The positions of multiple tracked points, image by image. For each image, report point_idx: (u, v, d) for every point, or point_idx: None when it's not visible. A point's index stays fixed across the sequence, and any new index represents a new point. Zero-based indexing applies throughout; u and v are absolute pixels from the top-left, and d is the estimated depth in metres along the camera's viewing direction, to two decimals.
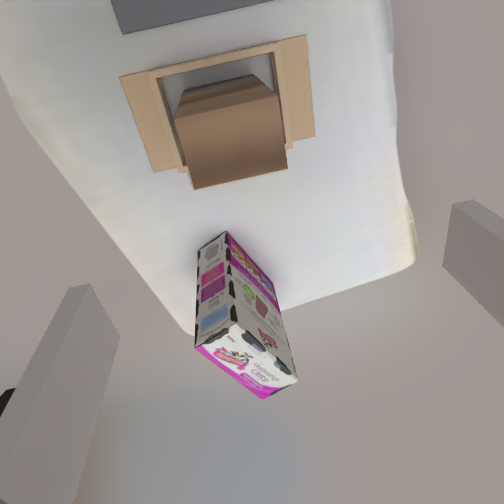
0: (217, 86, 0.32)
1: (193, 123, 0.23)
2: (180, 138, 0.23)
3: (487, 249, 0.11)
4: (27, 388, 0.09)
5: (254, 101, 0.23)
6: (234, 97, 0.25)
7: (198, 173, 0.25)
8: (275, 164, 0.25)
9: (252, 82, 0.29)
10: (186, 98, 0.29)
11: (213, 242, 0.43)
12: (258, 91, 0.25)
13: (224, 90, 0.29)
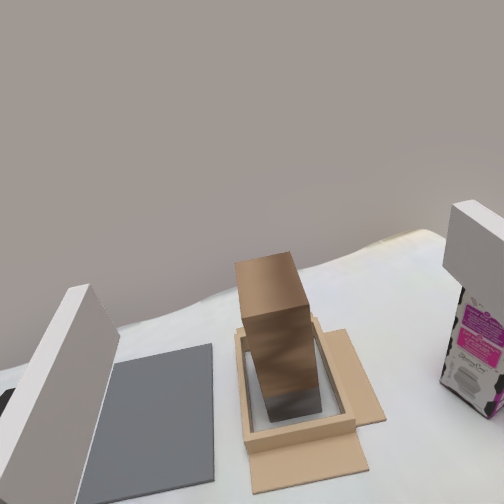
0: None
1: (246, 305, 0.26)
2: (258, 313, 0.25)
3: (487, 249, 0.11)
4: (27, 388, 0.09)
5: (236, 273, 0.29)
6: None
7: (292, 301, 0.25)
8: (286, 258, 0.30)
9: None
10: None
11: (460, 392, 0.31)
12: None
13: None
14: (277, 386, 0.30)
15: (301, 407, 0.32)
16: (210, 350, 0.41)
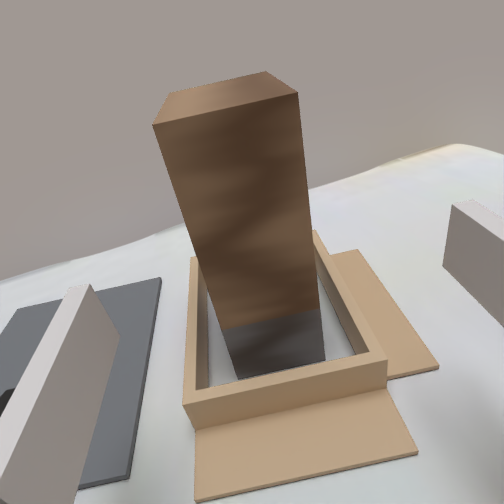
0: None
1: (170, 114, 0.13)
2: (189, 116, 0.12)
3: (487, 249, 0.11)
4: (27, 388, 0.09)
5: (167, 99, 0.16)
6: None
7: (262, 96, 0.12)
8: (258, 75, 0.17)
9: None
10: None
11: None
12: None
13: None
14: (244, 305, 0.16)
15: (290, 350, 0.18)
16: (157, 285, 0.27)
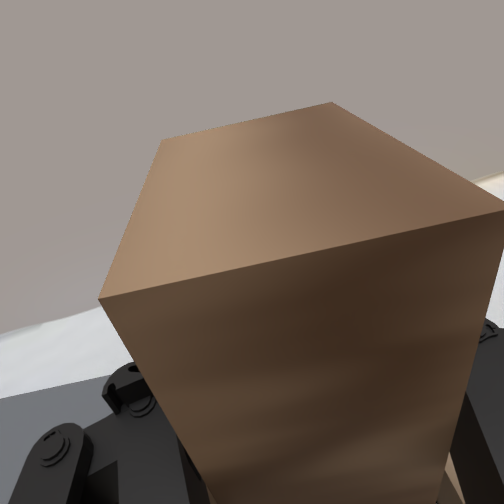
0: None
1: (154, 237, 0.05)
2: (203, 271, 0.04)
3: None
4: None
5: None
6: None
7: (394, 204, 0.05)
8: (323, 111, 0.09)
9: None
10: None
11: None
12: None
13: None
14: None
15: None
16: None
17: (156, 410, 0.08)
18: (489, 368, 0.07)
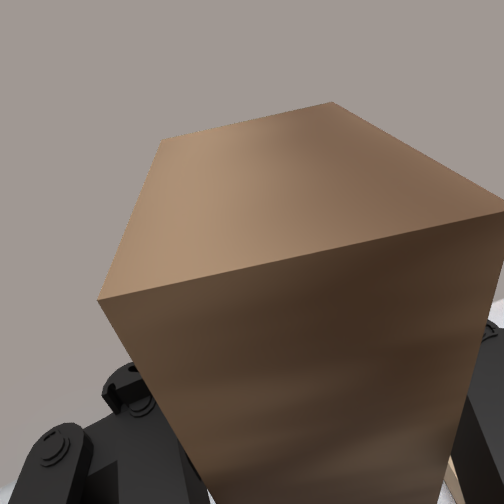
0: None
1: (154, 238, 0.05)
2: (204, 272, 0.04)
3: None
4: None
5: (157, 158, 0.09)
6: None
7: (396, 204, 0.05)
8: (324, 111, 0.09)
9: None
10: None
11: None
12: None
13: None
14: None
15: None
16: None
17: (156, 410, 0.08)
18: (489, 368, 0.07)
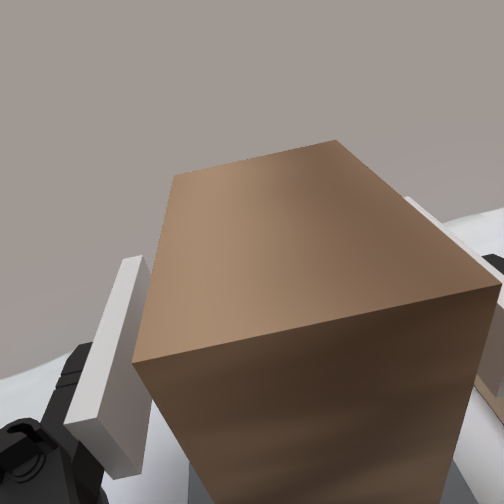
0: None
1: (177, 296, 0.06)
2: (225, 338, 0.05)
3: None
4: (105, 338, 0.10)
5: (171, 197, 0.09)
6: None
7: (396, 272, 0.05)
8: (328, 151, 0.10)
9: None
10: None
11: None
12: None
13: None
14: None
15: None
16: None
17: (45, 469, 0.07)
18: None
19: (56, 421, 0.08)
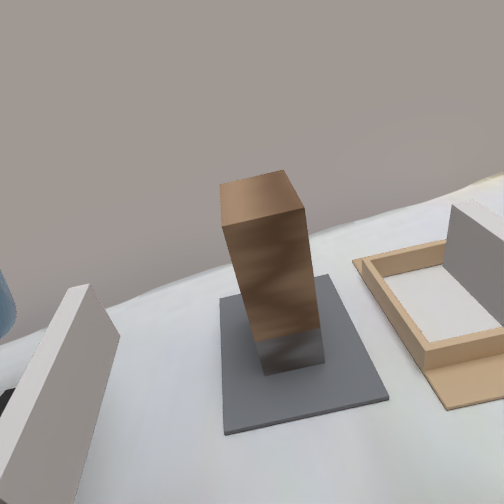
0: None
1: (229, 215, 0.21)
2: (242, 221, 0.20)
3: (487, 249, 0.11)
4: (27, 388, 0.09)
5: (220, 192, 0.25)
6: None
7: (283, 207, 0.21)
8: (279, 174, 0.25)
9: None
10: None
11: None
12: None
13: None
14: (270, 326, 0.25)
15: (301, 355, 0.27)
16: (330, 280, 0.36)
17: None
18: None
19: None
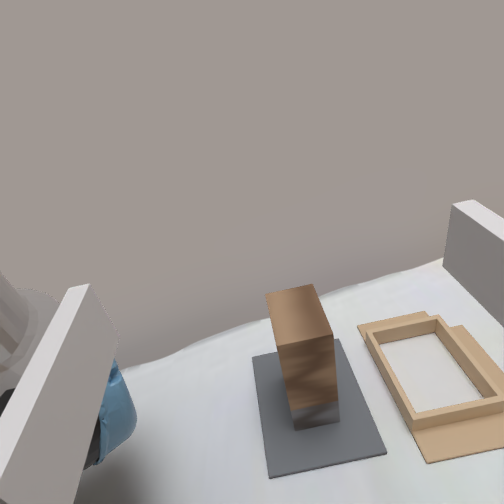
0: None
1: (280, 334, 0.31)
2: (290, 342, 0.30)
3: (487, 249, 0.11)
4: (27, 388, 0.09)
5: None
6: None
7: (318, 331, 0.30)
8: (309, 290, 0.35)
9: None
10: None
11: None
12: None
13: None
14: (303, 400, 0.35)
15: (322, 418, 0.37)
16: (340, 344, 0.46)
17: None
18: None
19: None
